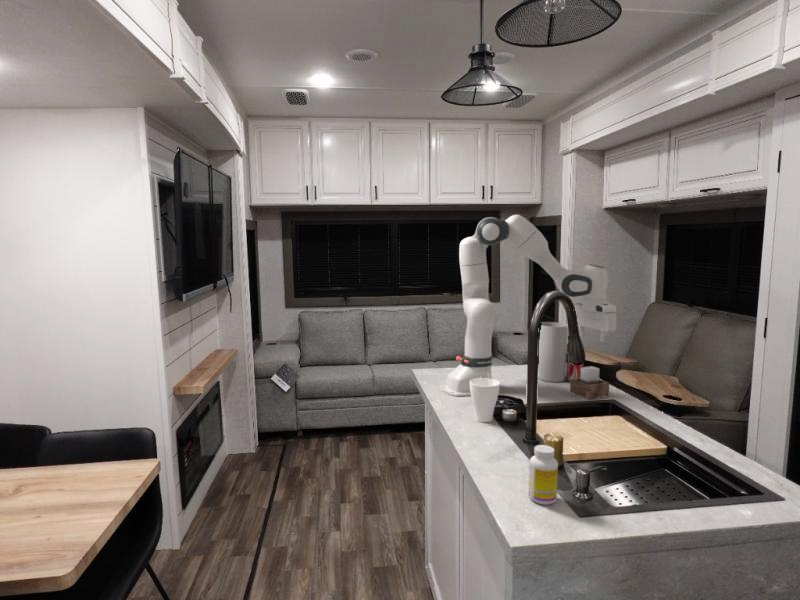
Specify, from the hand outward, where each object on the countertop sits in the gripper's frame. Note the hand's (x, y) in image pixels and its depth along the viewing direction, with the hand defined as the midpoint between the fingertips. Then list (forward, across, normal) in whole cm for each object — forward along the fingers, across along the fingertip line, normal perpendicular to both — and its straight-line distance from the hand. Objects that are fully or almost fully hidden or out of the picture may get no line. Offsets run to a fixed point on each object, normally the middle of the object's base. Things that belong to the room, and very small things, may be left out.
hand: (592, 339), depth 202 cm
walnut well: (+23, 0, 0) cm, 23 cm away
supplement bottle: (+23, +58, -73) cm, 96 cm away
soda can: (+23, -18, +9) cm, 31 cm away
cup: (+23, +7, -56) cm, 61 cm away
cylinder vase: (+23, -24, +1) cm, 33 cm away
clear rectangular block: (+22, 0, 0) cm, 22 cm away
